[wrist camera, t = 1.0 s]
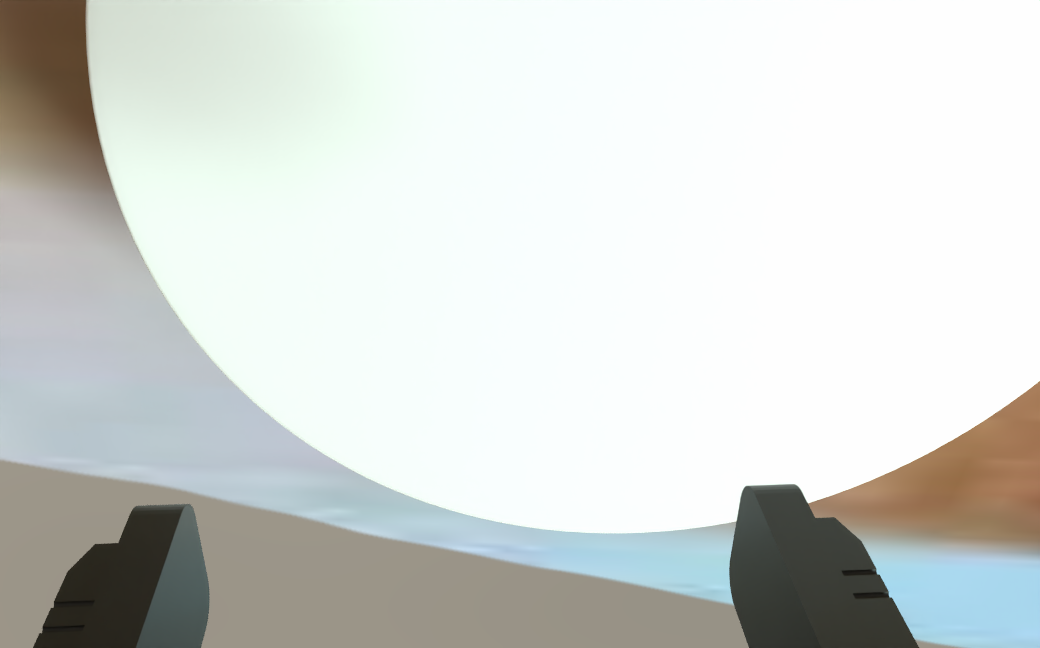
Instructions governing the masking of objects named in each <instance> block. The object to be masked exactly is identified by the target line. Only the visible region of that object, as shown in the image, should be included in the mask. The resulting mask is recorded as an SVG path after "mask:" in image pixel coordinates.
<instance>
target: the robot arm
mask: <svg viewBox="0 0 1040 648" xmlns="http://www.w3.org/2000/svg"><path fill="white" fill-rule="evenodd" d="M729 575H730V587H731V594H732V599H733V603H734V606H735V609H736V612H737V615H738V617H739V620H740V623H741V626H742V629H743V632H744V635H745V637H746V640H747V643H748V646H749V648H919V647H918V645H917V643H916V641H915V639H914V638H913V636H912V634H911V632H910V630H909V628H908V627H907V625H906V623H905V621H904V619H903V617H902V615H901V614H900V612H899V610H898V608H897V606H896V604H895V603H894V601H893V599H892V598H889V594H888V593H889V591H888V590H887V588H886V586H885V584H884V582H883V580H882V579H881V577H880V575H877V573H876V567H875V566H874V564H873V562H872V560H871V558H870V556H869V555H868V553H867V551H866V549H865V547H864V545H863V544H862V542H861V541H860V540H859V539H858V538H857V537H856V536H855V535H854V534H852V533H851V532H850V531H849V530H848V529H847V528H846V527H845V526H843V525H842V524H841V523H840V522H839V521H838V520H837V519H836V518H834V517H832V518H815V517H814V515H813V513H812V511H811V509H810V507H809V505H808V503H807V501H806V499H805V497H804V495H803V493H802V491H801V489H800V488H799V487H798V486H797V485H796V484H778V485H750V486H745V487H744V489H743V491H742V494H741V498H740V504H739V510H738V516H737V522H736V528H735V534H734V540H733V546H732V552H731V558H730V568H729ZM208 613H209V584H208V577H207V572H206V567H205V562H204V557H203V552H202V547H201V542H200V537H199V533H198V527H197V522H196V517H195V513H194V510H193V508H192V506H191V505H190V504H175V505H148V506H136V507H135V508H134V509H133V510H132V512H131V514H130V516H129V518H128V521H127V523H126V526H125V528H124V530H123V533H122V535H121V538H120V540H119V543H112V544H95V545H94V546H93V547H92V548H91V549H90V550H89V551H88V552H87V553H86V554H85V555H84V556H83V557H82V558H81V559H80V560H79V561H78V562H77V563H76V564H75V565H74V566H73V567H72V568H71V569H70V570H69V571H68V572H67V575H66V576H65V579H64V581H63V583H62V585H61V587H60V590H59V592H58V594H57V596H56V598H55V601H54V608H51V610H50V612H49V614H48V616H47V618H46V621H45V623H44V625H43V631H42V633H40V634H39V636H38V638H37V640H36V643H35V644H34V647H33V648H201V644H202V641H203V637H204V634H205V630H206V626H207V621H208Z"/></svg>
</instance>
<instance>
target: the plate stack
mask: <svg viewBox="0 0 1040 648" xmlns="http://www.w3.org/2000/svg"><path fill="white" fill-rule="evenodd" d="M86 47H87V61H88V72H89V82H90V90H91V97H92V104H93V110H94V115H95V121H96V126H97V131H98V136H99V140H100V144H101V148H102V152H103V156H104V160H105V164H106V167H107V170H108V174H109V177H110V180H111V183H112V187H113V190H114V193H115V195H116V198H117V201H118V204H119V206H120V209H121V212H122V214H123V217H124V219H125V222H126V224H127V226H128V229H129V231H130V233H131V236H132V238H133V240H134V242H135V244H136V246H137V248H138V250H139V252H140V254H141V257H142V259H143V261H144V263H145V264H146V266H147V268H148V270H149V272H150V273H151V275H152V277H153V279H154V281H155V283H156V284H157V286H158V287H159V289H160V291H161V292H162V294H163V296H164V297H165V299H166V300H167V302H168V304H169V305H170V307H171V308H172V309H173V311H174V312H175V314H176V315H177V317H178V318H179V320H180V321H181V323H182V324H183V325H184V327H185V328H186V329H187V330H188V332H189V333H190V334H191V336H192V337H193V338H194V340H195V341H196V342H197V343H198V345H199V346H200V347H201V348H202V349H203V351H204V352H205V353H206V354H207V355H208V357H209V358H210V359H211V360H212V361H213V362H214V363H215V364H216V365H217V367H218V368H219V369H220V370H221V371H222V372H223V373H224V374H225V375H226V376H227V377H228V378H229V379H230V380H231V381H232V382H233V383H234V384H235V385H236V386H237V387H238V388H239V389H240V390H241V391H242V392H243V393H244V394H245V395H246V396H247V397H248V398H250V399H251V400H252V401H253V402H254V403H255V404H256V405H257V406H258V407H260V408H261V409H262V410H263V411H264V412H266V413H267V414H268V415H269V416H271V417H272V418H273V419H274V420H275V421H277V422H278V423H279V424H281V425H282V426H283V427H285V428H286V429H287V430H289V431H290V432H291V433H293V434H294V435H295V436H297V437H298V438H300V439H301V440H303V441H304V442H306V443H307V444H309V445H310V446H312V447H313V448H315V449H316V450H318V451H320V452H321V453H323V454H324V455H326V456H328V457H329V458H331V459H333V460H334V461H336V462H338V463H340V464H341V465H343V466H345V467H347V468H349V469H351V470H352V471H354V472H356V473H358V474H360V475H362V476H364V477H366V478H368V479H370V480H372V481H375V482H377V483H379V484H381V485H383V486H385V487H388V488H390V489H393V490H395V491H397V492H400V493H402V494H405V495H407V496H410V497H413V498H415V499H418V500H421V501H423V502H426V503H429V504H432V505H435V506H438V507H441V508H445V509H448V510H452V511H455V512H459V513H462V514H466V515H470V516H474V517H478V518H482V519H487V520H491V521H496V522H501V523H506V524H512V525H518V526H524V527H531V528H538V529H547V530H557V531H568V532H583V533H645V532H660V531H672V530H682V529H690V528H698V527H706V526H712V525H718V524H724V523H730V522H735V521H737V516H738V510H739V504H740V498H741V494H742V491H743V489H744V487H745V486H750V485H778V484H796V485H797V486H798V487H799V488H800V489H801V491H802V493H803V495H804V497H805V499H806V501H807V503H810V502H813V501H816V500H819V499H822V498H825V497H828V496H831V495H834V494H837V493H839V492H842V491H845V490H847V489H850V488H853V487H855V486H858V485H860V484H863V483H865V482H868V481H870V480H872V479H875V478H877V477H879V476H882V475H884V474H886V473H888V472H891V471H893V470H895V469H897V468H899V467H901V466H903V465H906V464H908V463H910V462H912V461H914V460H916V459H918V458H920V457H922V456H923V455H925V454H927V453H929V452H931V451H933V450H935V449H937V448H938V447H940V446H942V445H944V444H946V443H948V442H949V441H951V440H953V439H954V438H956V437H958V436H960V435H961V434H963V433H965V432H966V431H968V430H970V429H971V428H973V427H974V426H976V425H978V424H979V423H981V422H982V421H984V420H985V419H987V418H988V417H990V416H992V415H993V414H994V413H996V412H997V411H999V410H1000V409H1002V408H1003V407H1005V406H1006V405H1008V404H1009V403H1010V402H1012V401H1013V400H1015V399H1016V398H1017V397H1019V396H1020V395H1021V394H1023V393H1024V392H1026V391H1027V390H1028V389H1030V388H1031V387H1032V386H1033V385H1035V384H1036V383H1037V382H1039V381H1040V0H86Z"/></svg>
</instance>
